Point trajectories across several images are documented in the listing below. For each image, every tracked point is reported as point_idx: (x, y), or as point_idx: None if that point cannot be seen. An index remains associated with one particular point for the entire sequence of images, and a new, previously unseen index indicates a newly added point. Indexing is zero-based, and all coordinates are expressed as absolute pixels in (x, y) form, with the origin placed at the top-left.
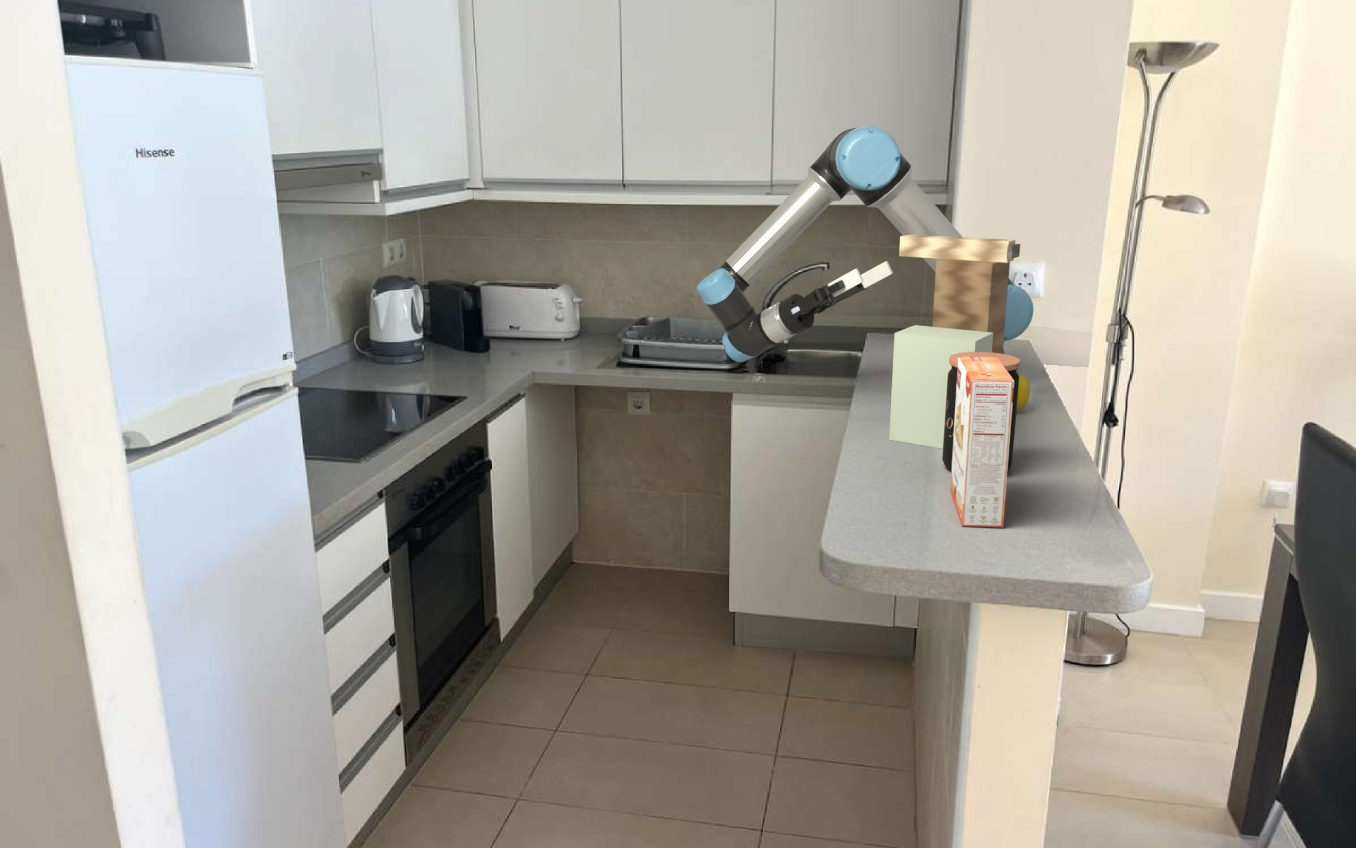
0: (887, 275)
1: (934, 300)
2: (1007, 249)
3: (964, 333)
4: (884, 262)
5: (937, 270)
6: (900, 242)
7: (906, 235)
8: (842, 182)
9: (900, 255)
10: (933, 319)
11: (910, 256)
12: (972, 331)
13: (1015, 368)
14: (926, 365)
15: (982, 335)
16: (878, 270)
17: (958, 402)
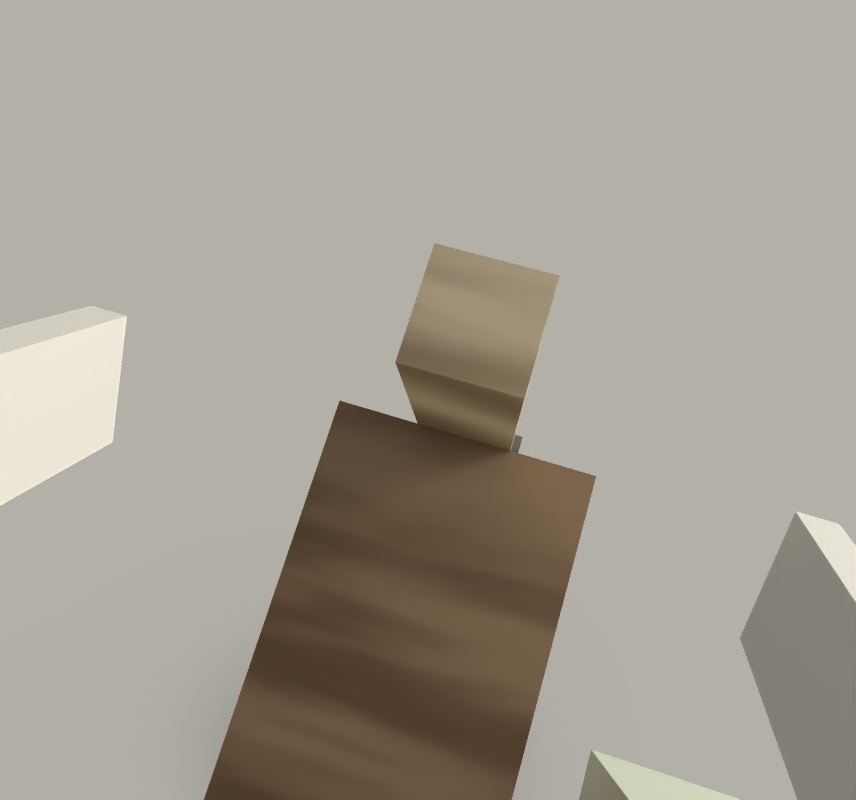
0: (82, 453)
1: (543, 670)
2: (518, 448)
3: (676, 793)
4: (115, 324)
5: (582, 522)
6: (548, 314)
7: (482, 260)
8: None
9: (523, 396)
10: (517, 772)
11: (519, 414)
12: (618, 771)
13: None
14: None
15: (662, 776)
16: (48, 389)
17: None
